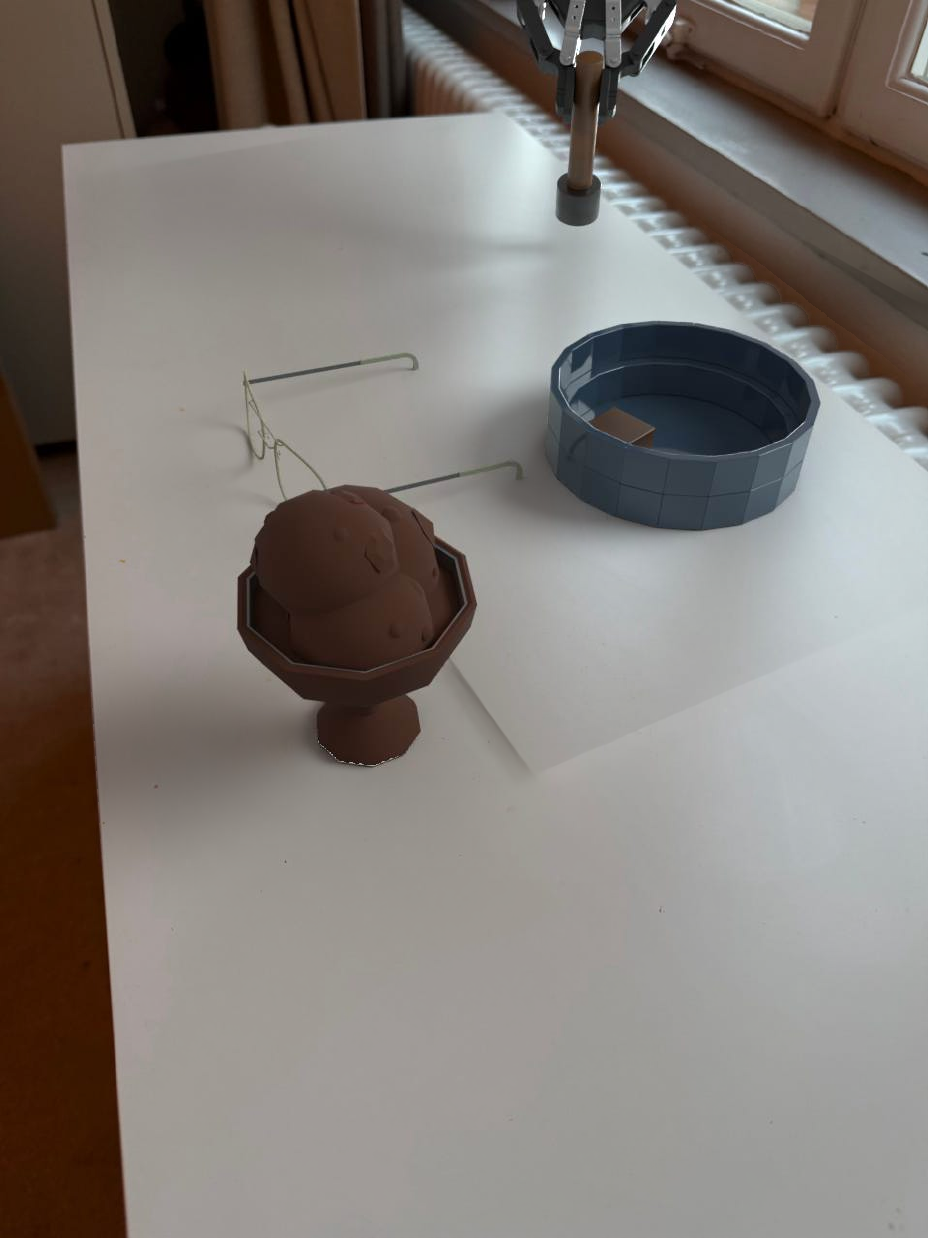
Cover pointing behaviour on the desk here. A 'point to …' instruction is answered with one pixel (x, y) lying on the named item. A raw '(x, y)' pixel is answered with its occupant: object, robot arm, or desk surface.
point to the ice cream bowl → (354, 612)
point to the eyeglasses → (392, 490)
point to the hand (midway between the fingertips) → (584, 119)
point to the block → (624, 428)
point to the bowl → (681, 423)
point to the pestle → (582, 147)
